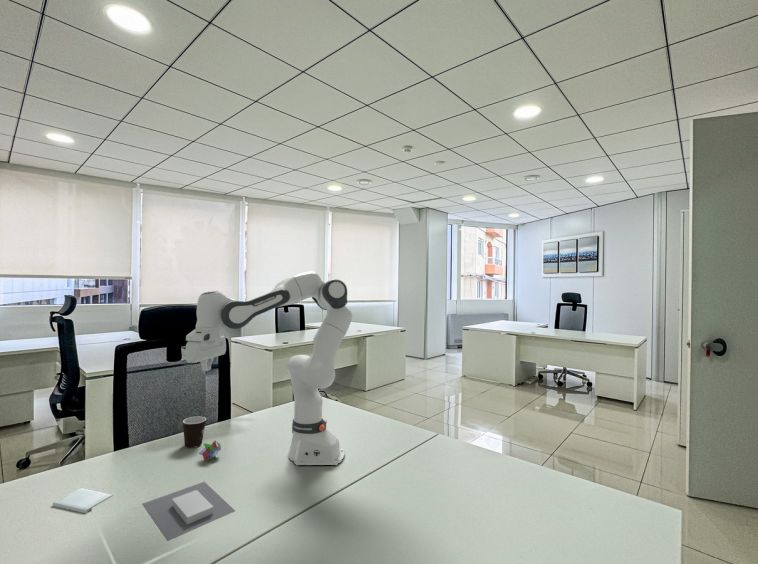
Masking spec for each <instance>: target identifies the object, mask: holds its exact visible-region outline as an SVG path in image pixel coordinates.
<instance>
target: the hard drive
mask: <svg viewBox="0 0 758 564" xmlns="http://www.w3.org/2000/svg"><path fill="white" fill-rule="evenodd" d="M113 496H114V494H109V493H104V492H102V491H97V490H91V489H86V488H83V487H80V488H78V489H76V490H74V491H72V492H70V493H68V494H66V495H64V496H62V497H60V498H58V499H57V500H54V501H53V502H52V507H55V506H58V507H57V508H60V507H61V508H62V509H64V508H66V509H65V510H69V509H70V511H73V512H78V513H84V514H88V513H89V512H91V511H92V510H93V508H94V507H96V506H98V505H100V504H101V503H103V502H105V501H107V500H108V499H109V498H112V497H113ZM61 508H60V509H61Z"/></svg>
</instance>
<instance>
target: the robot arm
mask: <svg viewBox="0 0 758 564" xmlns="http://www.w3.org/2000/svg"><path fill="white" fill-rule="evenodd" d="M309 298H311V299H312V300H313V301H314V302H315V304H316V305H317V306H318V307H319V308H320V309H321V310H324V311H326V315H325V318H324V320H323V321H322V323H321V324H320V326H319V328H318V330H317V331H316V333H315V335H314V337H313V339H312V342H313V350H312V353H311V355H307V354H296V355H293V356H291V358H290V359H289V360H288V361H287V364H286V372H287V374H288V376H289V379H290V382H291V385H292V386H291V387H292V392H293V397H294V398H293V399H294V400H293V401H294V402H293V403H294V404H293V406H294V407H293V408H294V409H293V419H292V423H291V433H292V437H291V443H290V446H289V450H288V454H287V458H288V459H289V460H290V461H294V462H293V463H294V464H296V465H295V466H297V465H336V464H338V463H340V462H341V461H343V460H344V459H345V457H344V455H345V456H346V452H345V449H344V448H342V447H340V441H339V438H338V437H337V436H336V435H335V434H333V433H332V432H331V431H330V430H329V429H328V428H327V423H328V419H326V420H324V418H323V402H324V401H323V397H322V395H321V394H320V391H319V389H320V390H321V389H323V390H325V389H327V388H329V387H330V386H332V384H333V383H334V381H335V378H336V371H335V360H336V359H335V358H336V355H337V352H338V349H339V348H340V345H341V343H342V341H343V340H344V338H345V336H346V334H347V332H348V331H349V328H350V325H351V322H352V320H353V313H352V311H351V309H350V308H348V306H347V304H348V288H347V285H346V283H345V282H344V281H342V280H340V279H337V278H334V279H329V280H327V281H326V282H324V281H323V280H322V278H321V277H320V275H319V274H318V273H317V272H315V271H307V272H302V273H299V274H294V275H291V276H289V277H286V278H285V279H282V280H281V281H279V282H278V283H276V285H275V286H274V287H273V288H272V290H271V291H269V292H267V293H265V294H263V295H260V296H258V297H255V298H253V299H252V298H251V299H250V300H245V301H240V300H238V299H234V298H231V297H229V296H227V295H226V294H225V293H223V292H222V291H219V290H215V291H207V292H206V291H205V292H203V293H202V294H200V295H199V297H198V299H197V303H196V304H197V305H196V319H197V320H196V324H195V329H193V330H191V332H189V333H188V334H186V336H185V341H187V342H186V344H185V350H184V351H185V352H184V353H185V355H184V356H185V361H186V363H189V364H196V363H200V365H201V371H202V372H208V371H210V370H212V364H213V362H214V359H215V358H216V357H219V356H222V355H225V354H226V352H227V342H226V337H225V333H224V332H223V331H222V327H223V326H222V324H224V325H225V326H226V327H227V328H229V329H233V330H236V329H237V330H238V329H242V328H244V327H246V326H247V325H248V324H249V323H250V322H251V321H252V320H253V319H254V318H256V317H257V316H259V315H261V314H263V313H264V314H265V313H266V312H269V311H271V310H273V309H276V308H280V307H284V306H289V305H293V304H297V303H299V302H302V301H304V300H307V299H309ZM343 458H344V459H343ZM342 459H343V460H342ZM341 463H342V462H341ZM341 463H340V464H341ZM338 465H339V464H338ZM336 466H337V465H336Z"/></svg>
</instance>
